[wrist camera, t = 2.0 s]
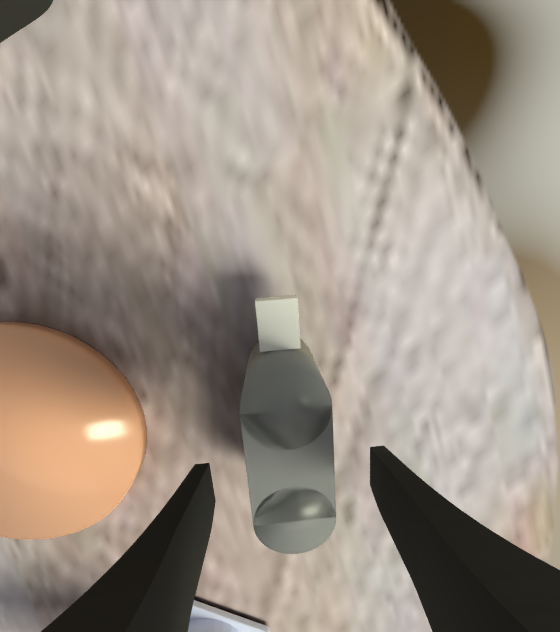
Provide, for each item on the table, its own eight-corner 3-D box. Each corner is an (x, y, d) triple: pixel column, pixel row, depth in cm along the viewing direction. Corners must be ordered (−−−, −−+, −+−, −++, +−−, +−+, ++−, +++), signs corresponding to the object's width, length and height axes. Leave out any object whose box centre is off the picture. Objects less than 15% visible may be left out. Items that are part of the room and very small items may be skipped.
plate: (96, 548, 18) (84, 568, 17) (-120, 469, 16) (-150, 486, 15) (184, 391, 16) (178, 401, 15) (-52, 275, 14) (-82, 277, 13)
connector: (318, 469, 18) (337, 549, 13) (260, 475, 18) (257, 557, 13) (308, 288, 15) (328, 303, 10) (240, 294, 15) (226, 311, 10)
